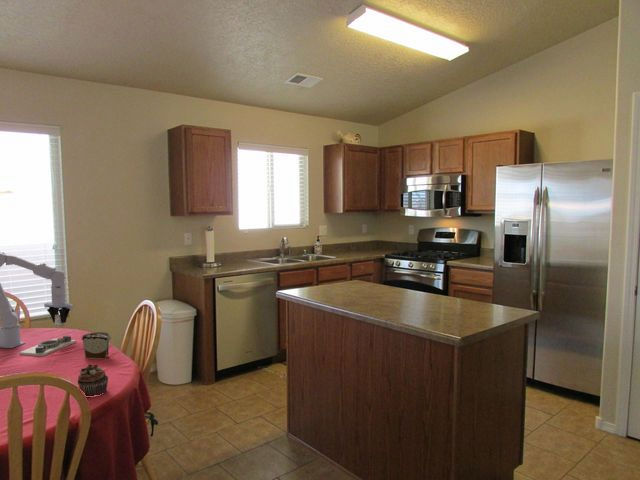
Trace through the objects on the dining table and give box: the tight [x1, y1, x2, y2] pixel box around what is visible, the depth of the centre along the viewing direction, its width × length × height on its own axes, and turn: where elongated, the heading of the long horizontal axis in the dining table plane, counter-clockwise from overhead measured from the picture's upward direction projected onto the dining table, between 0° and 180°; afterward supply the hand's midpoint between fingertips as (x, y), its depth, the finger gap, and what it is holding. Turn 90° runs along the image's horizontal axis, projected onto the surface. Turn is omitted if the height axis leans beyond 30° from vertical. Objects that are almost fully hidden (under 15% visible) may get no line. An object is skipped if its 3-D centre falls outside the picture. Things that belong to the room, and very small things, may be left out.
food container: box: [81, 331, 112, 360], centre depth 194 cm, size 12×6×10 cm, turn 84°
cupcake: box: [77, 364, 109, 396], centre depth 157 cm, size 10×10×10 cm
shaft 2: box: [56, 335, 72, 343], centre depth 211 cm, size 5×3×3 cm, turn 149°
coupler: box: [54, 312, 66, 328], centre depth 218 cm, size 4×4×6 cm
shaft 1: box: [35, 344, 47, 353], centre depth 198 cm, size 5×3×3 cm, turn 9°
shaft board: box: [18, 338, 77, 357], centre depth 205 cm, size 12×20×2 cm, turn 169°
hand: (59, 322), depth 218 cm, fingers closed on coupler, 4 cm apart
